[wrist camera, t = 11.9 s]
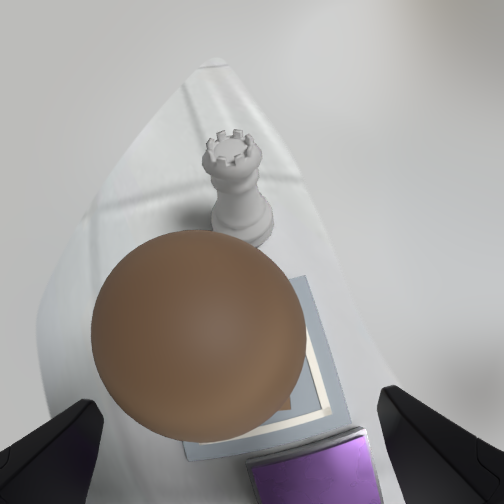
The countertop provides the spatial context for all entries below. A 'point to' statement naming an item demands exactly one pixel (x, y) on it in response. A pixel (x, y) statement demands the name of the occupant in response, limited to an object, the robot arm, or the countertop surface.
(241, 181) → the rook chess piece
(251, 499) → the countertop surface
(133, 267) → the wooden ball finial
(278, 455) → the ink pad
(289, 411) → the marked card
